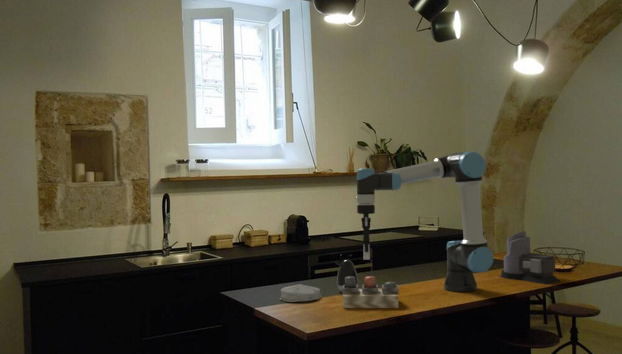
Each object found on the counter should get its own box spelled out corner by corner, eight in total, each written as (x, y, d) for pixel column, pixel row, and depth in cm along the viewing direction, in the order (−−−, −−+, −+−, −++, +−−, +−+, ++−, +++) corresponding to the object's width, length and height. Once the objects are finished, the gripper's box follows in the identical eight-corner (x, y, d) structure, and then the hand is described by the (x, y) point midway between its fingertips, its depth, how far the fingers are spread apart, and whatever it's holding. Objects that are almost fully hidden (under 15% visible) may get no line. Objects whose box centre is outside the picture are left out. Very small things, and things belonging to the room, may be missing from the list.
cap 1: (355, 285, 238) (355, 276, 238) (355, 287, 233) (355, 278, 233) (345, 285, 238) (345, 276, 238) (344, 287, 234) (344, 278, 234)
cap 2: (395, 291, 236) (394, 281, 236) (395, 293, 232) (395, 283, 232) (384, 291, 236) (384, 281, 236) (385, 293, 232) (384, 283, 232)
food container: (280, 294, 261) (280, 280, 261) (322, 293, 260) (321, 278, 260) (276, 305, 241) (276, 289, 241) (322, 303, 240) (321, 287, 240)
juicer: (492, 276, 290) (491, 230, 290) (512, 272, 298) (511, 228, 298) (543, 285, 264) (541, 234, 264) (563, 281, 273) (561, 232, 273)
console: (397, 300, 241) (397, 283, 241) (399, 307, 227) (398, 289, 227) (343, 300, 243) (343, 283, 243) (342, 307, 229) (341, 290, 229)
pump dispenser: (335, 289, 266) (334, 258, 266) (356, 288, 267) (355, 257, 267) (338, 294, 256) (337, 261, 256) (360, 293, 257) (359, 260, 257)
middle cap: (375, 285, 237) (375, 276, 237) (375, 287, 233) (375, 278, 233) (365, 285, 237) (364, 276, 237) (364, 287, 233) (364, 278, 233)
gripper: (357, 203, 242) (358, 257, 242) (356, 205, 229) (357, 261, 229) (374, 203, 241) (375, 257, 241) (375, 205, 228) (375, 261, 228)
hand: (366, 259), depth 235 cm, fingers closed
